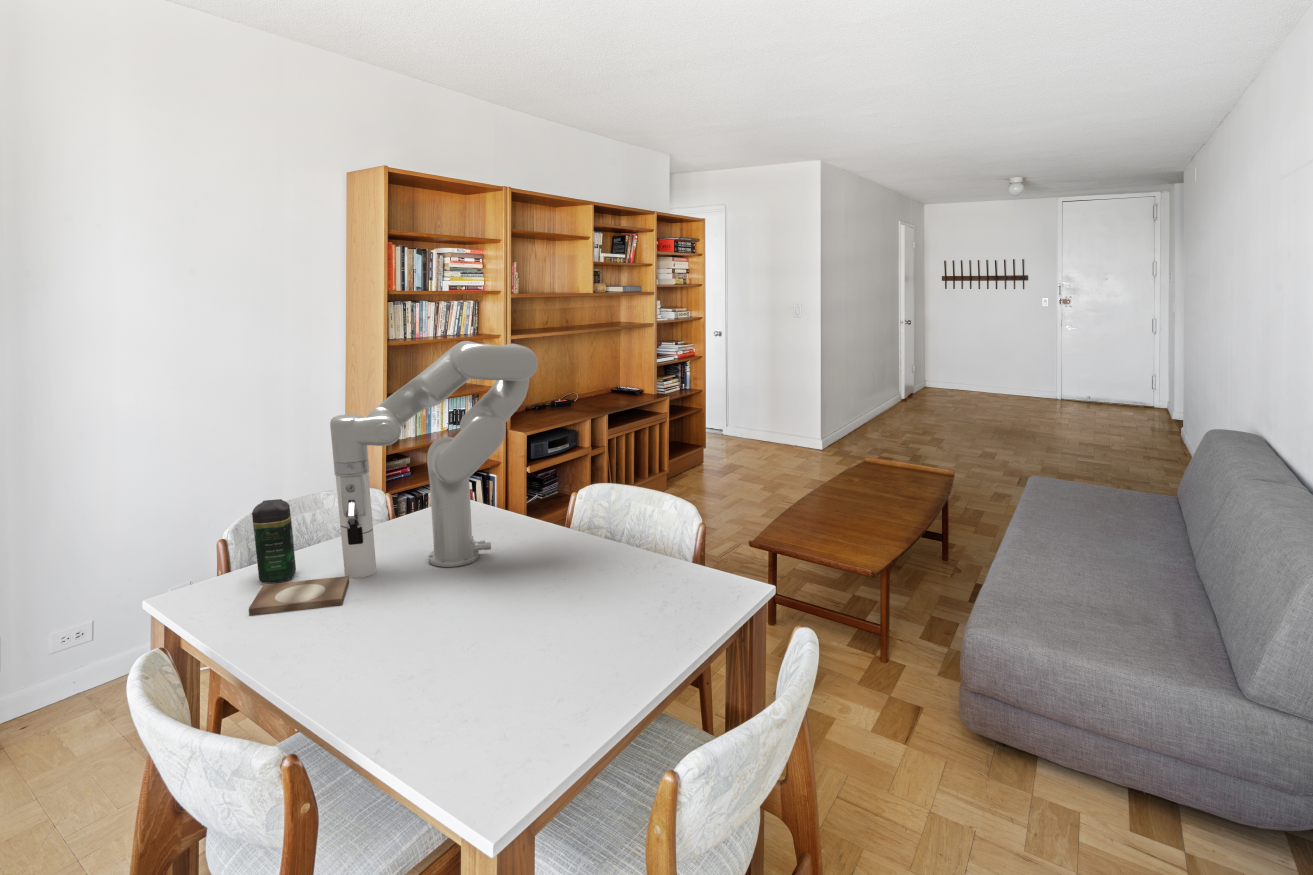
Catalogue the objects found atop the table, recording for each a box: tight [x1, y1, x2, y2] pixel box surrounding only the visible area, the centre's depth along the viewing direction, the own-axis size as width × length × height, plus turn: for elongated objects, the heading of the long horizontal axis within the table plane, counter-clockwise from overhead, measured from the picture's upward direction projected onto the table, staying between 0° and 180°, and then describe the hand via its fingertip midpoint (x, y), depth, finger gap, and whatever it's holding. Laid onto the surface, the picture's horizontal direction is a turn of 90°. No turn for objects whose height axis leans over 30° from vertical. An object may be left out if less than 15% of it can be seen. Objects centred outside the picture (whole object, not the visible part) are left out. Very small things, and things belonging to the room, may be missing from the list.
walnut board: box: [248, 575, 350, 616], centre depth 156 cm, size 18×13×2 cm
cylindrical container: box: [335, 472, 377, 579], centre depth 168 cm, size 7×7×25 cm
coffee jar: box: [251, 498, 297, 584], centre depth 166 cm, size 10×8×19 cm
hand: (357, 537), depth 168 cm, fingers closed on cylindrical container, 7 cm apart
